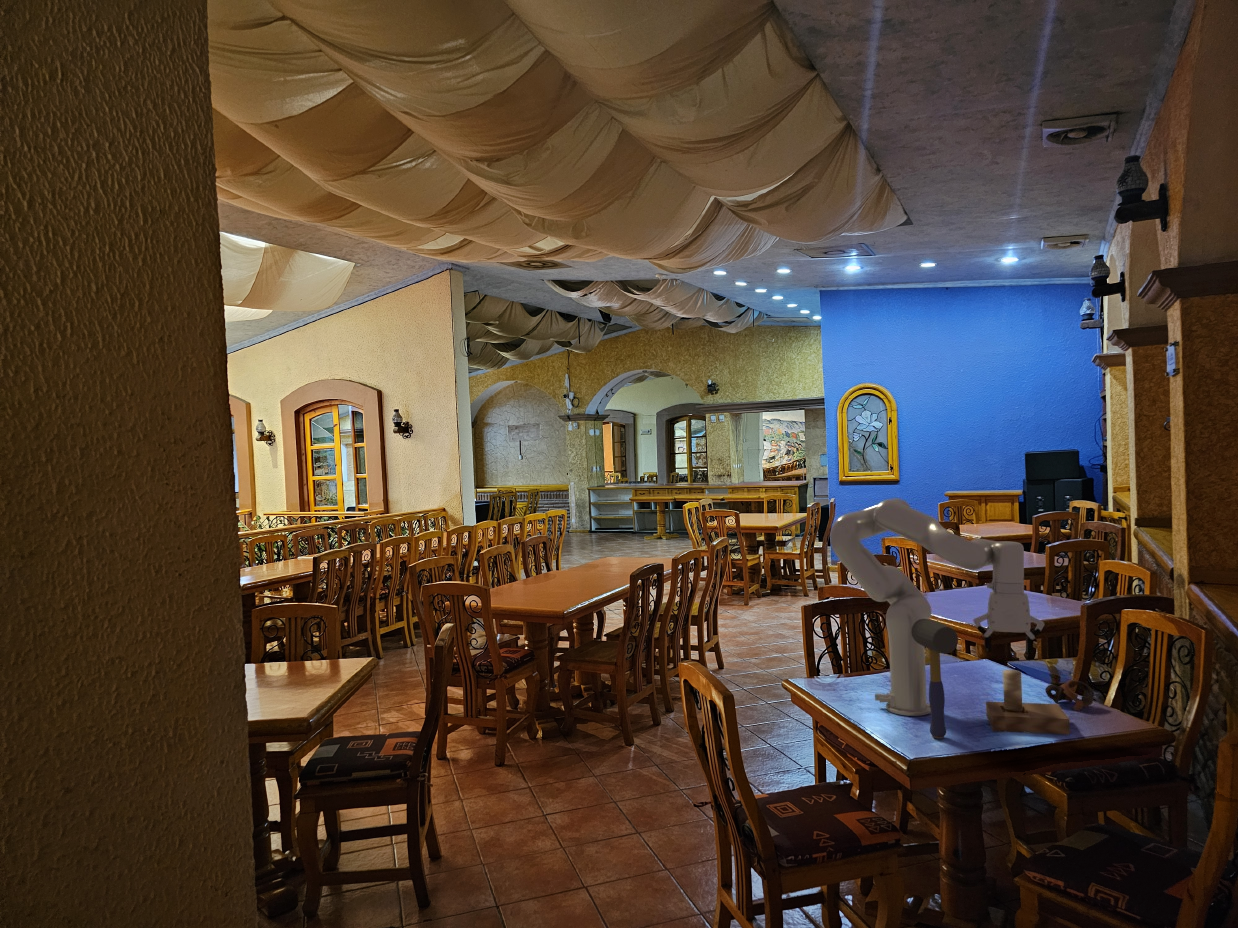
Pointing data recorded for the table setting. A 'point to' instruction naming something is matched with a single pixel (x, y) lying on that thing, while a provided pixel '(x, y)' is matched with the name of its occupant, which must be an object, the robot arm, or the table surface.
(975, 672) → the table surface
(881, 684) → the table surface
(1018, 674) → the peg
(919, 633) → the rubber mallet
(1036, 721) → the board
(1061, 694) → the dark looped piece
